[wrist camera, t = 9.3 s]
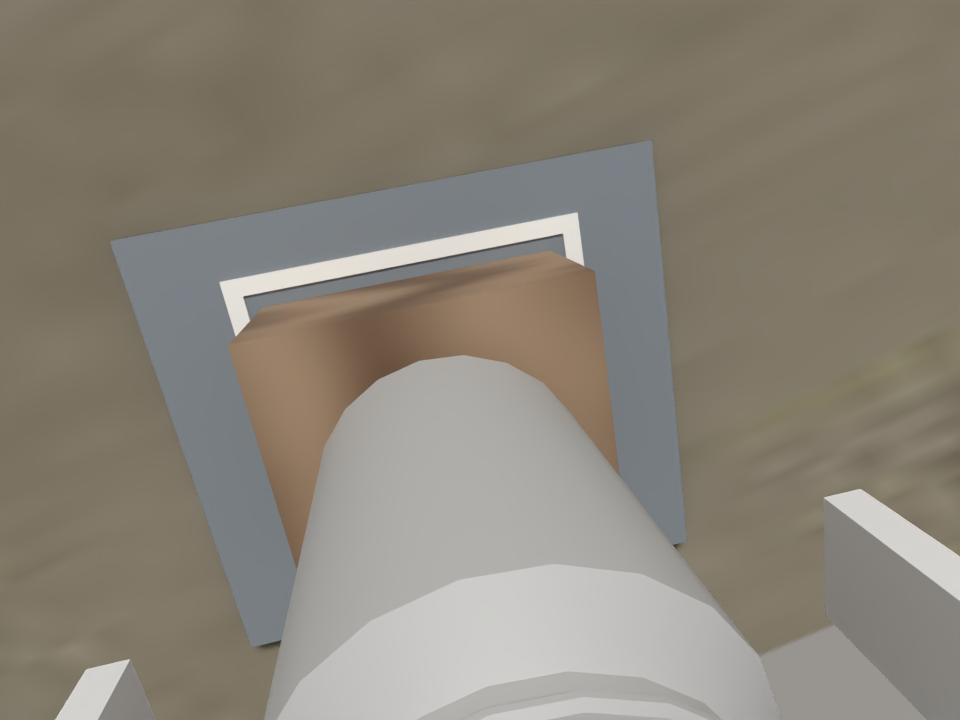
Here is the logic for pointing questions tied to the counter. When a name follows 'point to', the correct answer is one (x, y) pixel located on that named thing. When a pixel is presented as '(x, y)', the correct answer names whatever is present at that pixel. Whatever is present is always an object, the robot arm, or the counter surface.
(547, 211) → the grey flat plate
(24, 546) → the counter surface
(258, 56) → the counter surface
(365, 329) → the walnut block
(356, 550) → the can
